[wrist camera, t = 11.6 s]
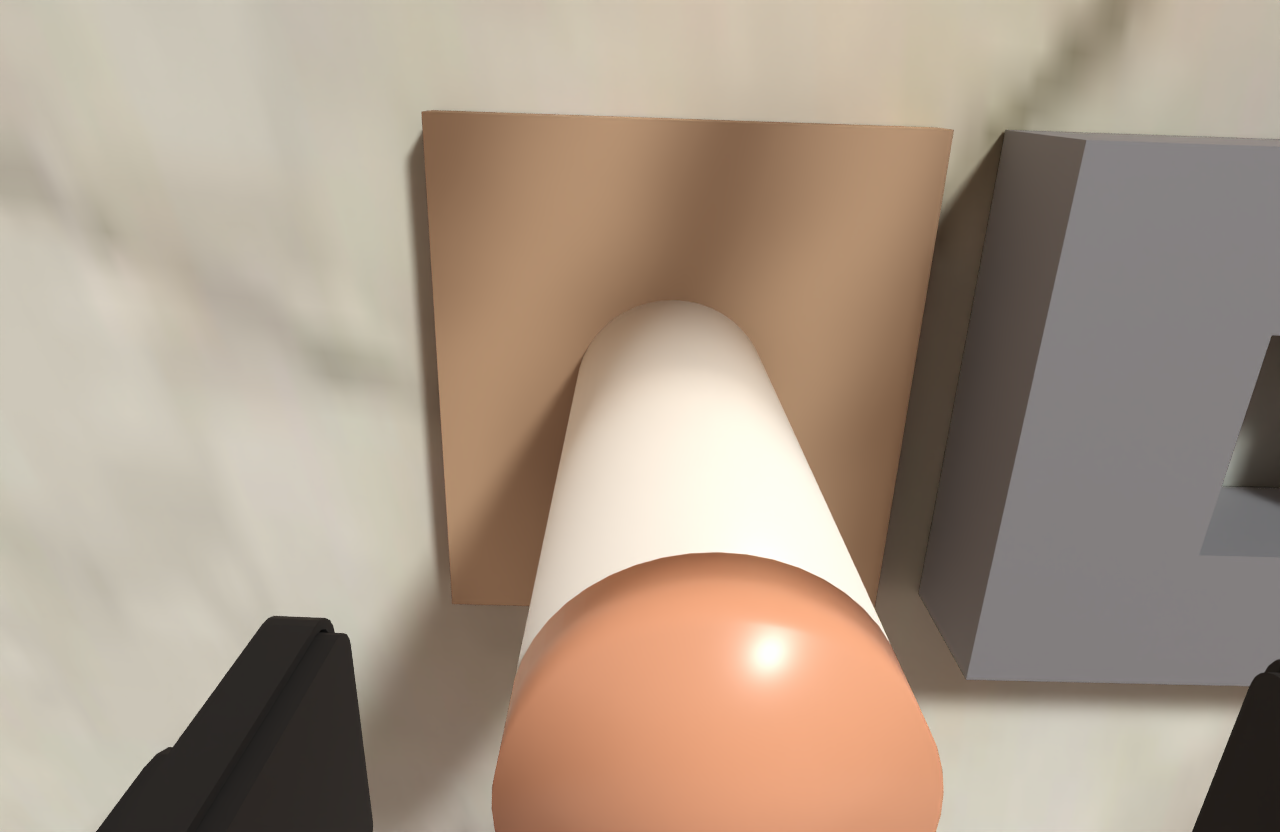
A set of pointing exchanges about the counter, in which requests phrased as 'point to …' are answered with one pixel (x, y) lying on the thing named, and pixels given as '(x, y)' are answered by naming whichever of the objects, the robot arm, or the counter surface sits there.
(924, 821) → the plug
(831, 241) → the board
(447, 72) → the counter surface
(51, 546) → the counter surface
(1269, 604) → the socket block
